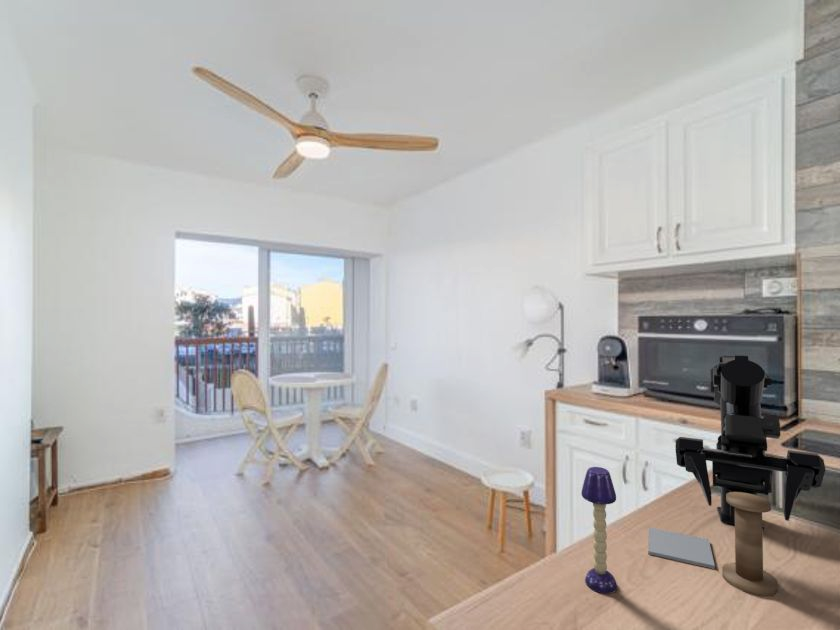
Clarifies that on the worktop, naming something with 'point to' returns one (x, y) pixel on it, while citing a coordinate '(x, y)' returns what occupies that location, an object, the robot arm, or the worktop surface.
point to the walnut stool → (749, 546)
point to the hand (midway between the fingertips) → (747, 511)
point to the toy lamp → (599, 526)
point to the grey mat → (680, 547)
